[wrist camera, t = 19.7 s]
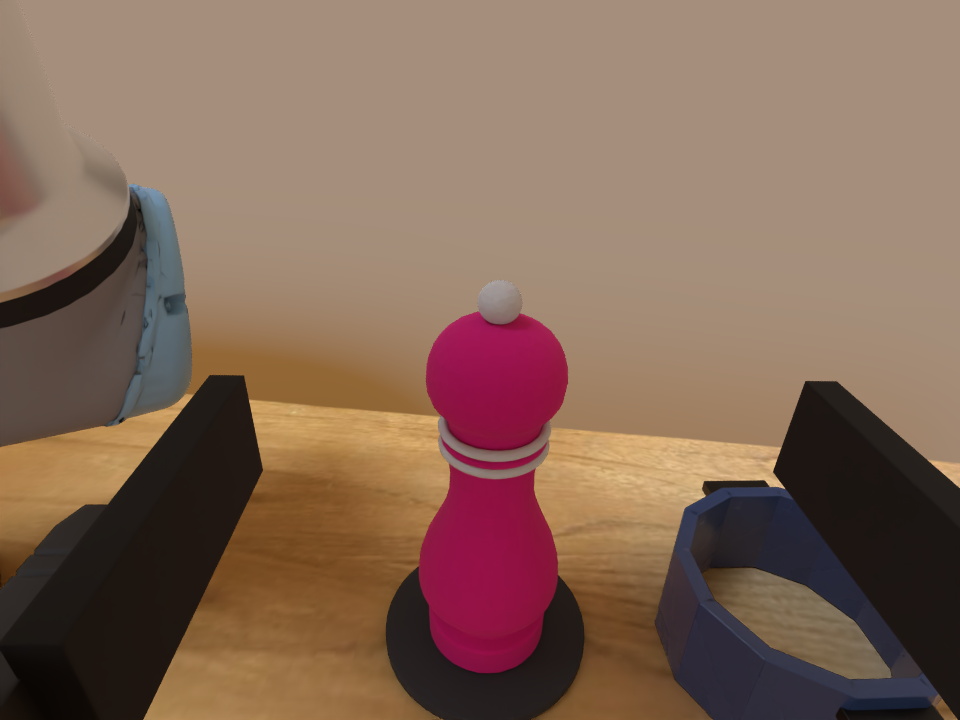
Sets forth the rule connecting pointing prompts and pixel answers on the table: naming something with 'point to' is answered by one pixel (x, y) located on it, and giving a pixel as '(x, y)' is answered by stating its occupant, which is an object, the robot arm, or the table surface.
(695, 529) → the pot
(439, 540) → the pepper mill
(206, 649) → the table surface
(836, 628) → the table surface
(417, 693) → the coaster
